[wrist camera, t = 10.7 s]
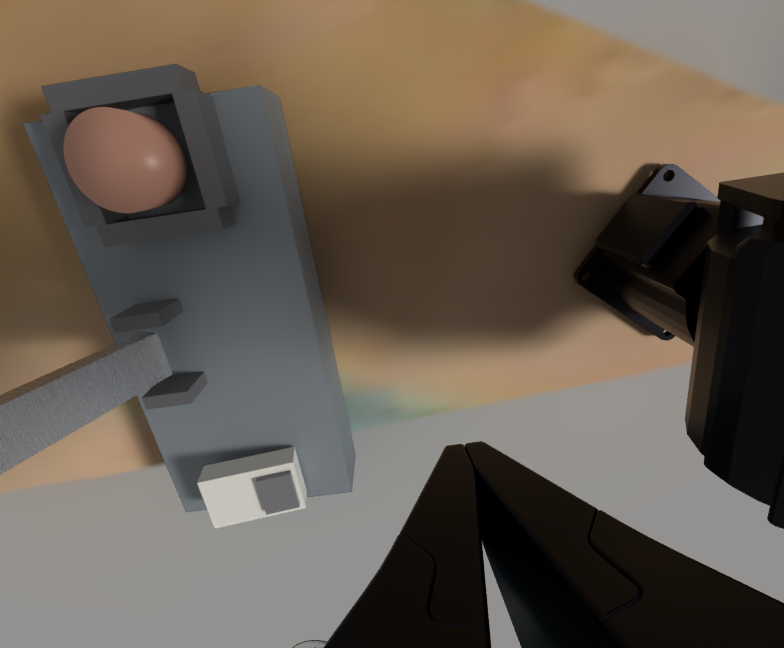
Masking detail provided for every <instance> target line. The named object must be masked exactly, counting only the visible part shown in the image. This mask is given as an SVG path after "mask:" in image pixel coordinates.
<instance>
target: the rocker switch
mask: <svg viewBox="0 0 784 648" xmlns="http://www.w3.org/2000/svg"><path fill="white" fill-rule="evenodd" d="M197 484H198V487H199V489H200V492H201V494H202V497H203V499H204V502H205V504H206V507H207V510H208V512H209V515H210V517H211V520H212V522H213V525H214V527H215V528H220V527H224V526H229V525H233V524H237V523H242V522H246V521H250V520H255V519H260V518H264V517H268V516H273V515H277V514H282V513H286V512H291V511H295V510H299V509H304V508H306V495H307V490H306V486H305V483H304V479H303V476H302V472H301V468H300V465H299V461H298V457H297V454H296V450H295V447H291V448H286V449H281V450H277V451H272V452H267V453H263V454H258V455H253V456H249V457H244V458H239V459H234V460H230V461H225V462H220V463H216V464H211V465H206V466H204V467H203V470H202V472H201V475H200V477H199V480H198V482H197Z"/></svg>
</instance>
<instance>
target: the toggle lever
mask: <svg viewBox="0 0 784 648" xmlns="http://www.w3.org/2000/svg"><path fill="white" fill-rule="evenodd" d="M171 375H172V371H171V369H170V366H169V363H168V361H167V358H166V355H165V353H164V350H163V347H162V345H161V342H160V339H159V337H158V334H157V333H155V332H140V333H138V334H135V335H133V336H131V337H129V338H127V339H124V340H122V341H120V342H118V343H115V344H113V345H111V346H109V347H106V348H104V349H102V350H100V351H98V352H95V353H93V354H91V355H89V356H86V357H84V358H82V359H80V360H77V361H75V362H73V363H71V364H68V365H66V366H64V367H62V368H60V369H57V370H55V371H53V372H51V373H48V374H46V375H44V376H42V377H39V378H37V379H35V380H33V381H31V382H28V383H26V384H24V385H22V386H19V387H17V388H15V389H13V390H10V391H8V392H6V393H4V394H1V395H0V474H2V473H4V472H5V471H7V470H9V469H10V468H12V467H14V466H16V465H17V464H19V463H21V462H22V461H24V460H26V459H28V458H29V457H31V456H33V455H35V454H36V453H38V452H40V451H41V450H43V449H45V448H47V447H48V446H50V445H52V444H53V443H55V442H57V441H59V440H60V439H62V438H64V437H66V436H67V435H69V434H71V433H72V432H74V431H76V430H78V429H79V428H81V427H83V426H84V425H86V424H88V423H90V422H91V421H93V420H95V419H97V418H98V417H100V416H102V415H103V414H105V413H107V412H109V411H110V410H112V409H114V408H115V407H117V406H119V405H121V404H122V403H124V402H126V401H128V400H129V399H131V398H133V397H134V396H136V395H138V394H140V393H141V392H143V391H145V390H146V389H148V388H150V387H152V386H153V385H155V384H157V383H159V382H160V381H162V380H164V379H165V378H167V377H169V376H171Z"/></svg>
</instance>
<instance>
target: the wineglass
mask: <svg viewBox="0 0 784 648" xmlns="http://www.w3.org/2000/svg"><path fill="white" fill-rule="evenodd" d="M326 643H327V642H326V641H320V640H311V641H305V642H302V643H299V644H297V645H296V646H294V647H293V648H323V647H324V646H325V644H326Z"/></svg>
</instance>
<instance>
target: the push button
mask: <svg viewBox="0 0 784 648" xmlns="http://www.w3.org/2000/svg"><path fill="white" fill-rule="evenodd" d="M63 150H64V158H65V163H66V166H67V169H68V171H69V174H70V176H71V178H72V179H73V181H74V183H75V184H76V185H77V187H78V188H79V189H80V190H81V191H82V193H83V194H84V195H85V196H87V197H88V198H89V199H90V200H91V201H93V202H94V203H96V204H97V205H99V206H101V207H103V208H105V209H107V210H110V211H114V212H119V213H134V212H139V211H144V210H149V209H154V208H158V207H163V206H165V205H168V204H169V203H171V202H173V201H174V200H175V199H176V198H177V197H178V196H179V195H180V194H181V192H182V191H183V189H184V186H185V184H186V180H187V174H188V167H187V160H186V156H185V153H184V150H183V148H182V146H181V144H180V142H179V140H178V139H177V137H176V136H175V135H174V134H173V132H172V131H171V130H170V129H169V128H168V127H167V126H165V125H164V124H163V123H162V122H160V121H159V120H157V119H155V118H153V117H151V116H148V115H145V114H141V113H136V112H131V111H126V110H121V109H115V108H110V107H96V108H92V109H88V110H86V111H84V112H82V113H81V114H79V115H78V116H77V117H76V118H74V120H73V121H72V122H71V123H70V125H69V127H68V129H67V131H66V134H65V138H64V147H63Z"/></svg>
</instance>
